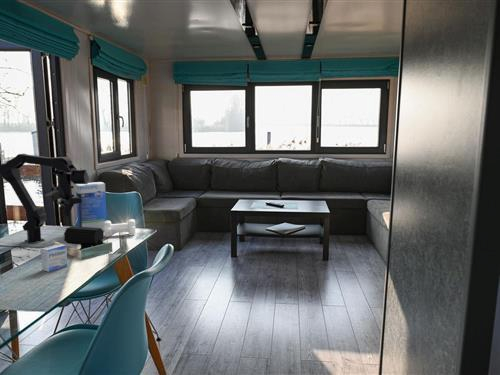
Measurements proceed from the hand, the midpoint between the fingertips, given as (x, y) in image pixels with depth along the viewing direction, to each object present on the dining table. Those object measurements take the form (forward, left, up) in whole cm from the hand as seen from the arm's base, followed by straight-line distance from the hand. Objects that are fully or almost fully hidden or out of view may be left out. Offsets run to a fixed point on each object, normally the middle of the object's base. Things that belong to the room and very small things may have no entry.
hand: (66, 216), depth 183 cm
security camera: (+20, -2, -12) cm, 24 cm away
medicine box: (+31, -22, -12) cm, 40 cm away
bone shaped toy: (+10, +22, -12) cm, 27 cm away
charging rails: (+18, -3, -12) cm, 22 cm away
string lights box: (-5, +16, -12) cm, 21 cm away
